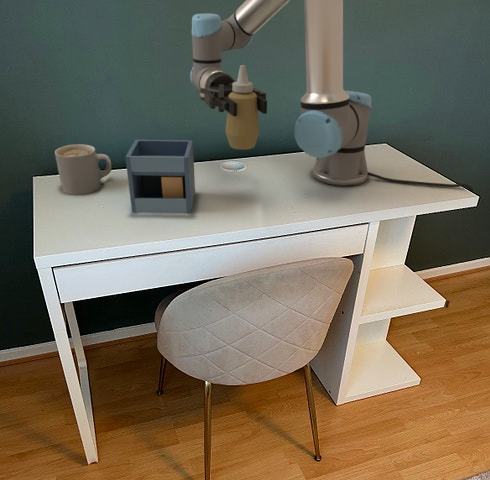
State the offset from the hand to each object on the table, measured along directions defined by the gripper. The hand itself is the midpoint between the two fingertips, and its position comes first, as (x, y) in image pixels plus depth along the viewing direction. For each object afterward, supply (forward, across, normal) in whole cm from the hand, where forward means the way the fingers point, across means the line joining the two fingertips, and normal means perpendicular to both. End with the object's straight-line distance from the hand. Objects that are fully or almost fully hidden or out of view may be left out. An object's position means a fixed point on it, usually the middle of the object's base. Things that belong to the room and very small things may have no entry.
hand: (250, 108), depth 110 cm
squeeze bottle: (-5, 0, -10) cm, 11 cm away
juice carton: (-8, +17, -23) cm, 29 cm away
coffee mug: (-27, +36, -24) cm, 51 cm away
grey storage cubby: (-8, +19, -24) cm, 32 cm away
